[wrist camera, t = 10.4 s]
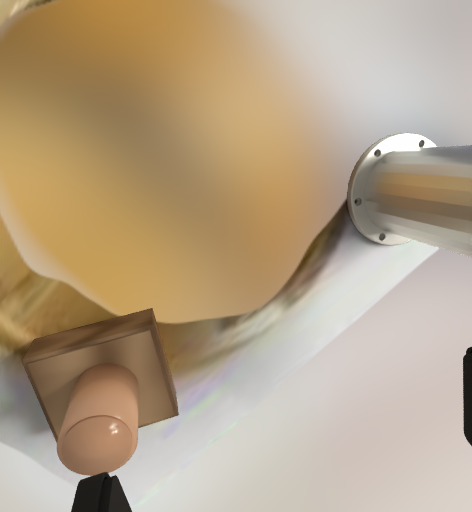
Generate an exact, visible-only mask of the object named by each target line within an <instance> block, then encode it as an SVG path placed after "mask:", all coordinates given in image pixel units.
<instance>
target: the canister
mask: <svg viewBox="0 0 472 512" xmlns="http://www.w3.org/2000/svg"><path fill="white" fill-rule="evenodd" d="M138 400H139V385H138V381H137V378H136V377H135V375H134V374H133V373H132V372H131V371H130V370H129V369H128V368H126V367H124V366H122V365H118V364H113V363H105V364H99V365H96V366H93V367H91V368H89V369H88V370H86V371H85V372H84V373H83V374H82V375H81V376H80V377H79V378H78V380H77V382H76V384H75V387H74V390H73V393H72V396H71V400H70V403H69V406H68V409H67V412H66V415H65V419H64V422H63V425H62V428H61V431H60V434H59V438H58V441H57V453H58V456H59V458H60V460H61V462H62V463H63V464H64V465H65V466H66V467H67V468H68V469H70V470H71V471H73V472H76V473H78V474H82V475H90V476H94V475H97V474H100V473H103V472H107V473H109V472H112V471H114V470H116V469H118V468H120V467H121V466H123V465H124V464H125V463H126V462H127V461H128V460H129V459H130V458H131V456H132V455H133V453H134V451H135V449H136V446H137V440H138Z"/></svg>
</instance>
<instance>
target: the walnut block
mask: <svg viewBox="0 0 472 512" xmlns="http://www.w3.org/2000/svg"><path fill="white" fill-rule="evenodd" d="M22 363H23V365H24V367H25V370H26V372H27V374H28V377H29V379H30V381H31V384H32V386H33V388H34V391H35V393H36V395H37V398H38V400H39V402H40V405H41V407H42V409H43V412H44V414H45V416H46V419H47V421H48V423H49V426H50V428H51V430H52V433H53V435H54V437H55V440H56V442H57V441H58V438H59V434H60V431H61V428H62V425H63V422H64V419H65V415H66V412H67V409H68V406H69V403H70V400H71V396H72V393H73V390H74V387H75V384H76V382H77V380H78V378H79V377H80V376H81V375H82V374H83V373H84V372H85V371H86V370H88V369H89V368H91V367H93V366H96V365H99V364H105V363H113V364H118V365H122V366H124V367H126V368H128V369H129V370H130V371H131V372H132V373H133V374H134V375H135V377H136V378H137V381H138V385H139V400H138V428H140V427H143V426H146V425H150V424H153V423H156V422H159V421H162V420H165V419H168V418H171V417H174V416H178V415H179V414H178V406H177V398H176V391H175V387H174V384H173V380H172V376H171V373H170V369H169V366H168V362H167V359H166V355H165V352H164V348H163V344H162V341H161V337H160V334H159V330H158V327H157V323H156V320H155V316H154V313H153V309H152V308H151V309H147V310H143V311H140V312H136V313H132V314H128V315H124V316H121V317H117V318H113V319H109V320H105V321H102V322H98V323H94V324H90V325H87V326H83V327H79V328H75V329H71V330H68V331H64V332H60V333H56V334H53V335H49V336H45V337H41V338H37V339H35V340H34V341H33V343H32V344H31V346H30V347H29V349H28V351H27V352H26V354H25V355H24V357H23V359H22Z"/></svg>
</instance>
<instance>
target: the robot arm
mask: <svg viewBox="0 0 472 512" xmlns="http://www.w3.org/2000/svg"><path fill="white" fill-rule="evenodd" d="M347 204H348V209H349V214H350V217H351V219H352V221H353V223H354V225H355V226H356V228H357V229H358V230H359V232H361V233H362V234H363V235H364V236H365V237H366V238H368V239H370V240H372V241H374V242H377V243H380V244H385V245H400V244H403V243H407V242H409V241H411V240H416V241H419V242H422V243H426V244H429V245H432V246H436V247H439V248H442V249H445V250H449V251H452V252H455V253H458V254H462V255H465V256H468V257H472V145H466V146H441V147H436V145H435V144H434V143H433V142H431V141H430V140H429V139H427V138H425V137H423V136H421V135H418V134H412V133H400V134H394V135H389V136H387V137H385V138H382V139H380V140H379V141H377V142H376V143H374V144H373V145H371V146H370V147H369V148H368V149H367V150H366V151H365V152H364V153H363V155H362V156H361V157H360V159H359V160H358V162H357V163H356V165H355V167H354V170H353V171H352V174H351V177H350V180H349V184H348V192H347ZM463 385H464V386H463V393H464V394H463V395H464V396H463V398H464V434H465V437H466V439H467V440H468V442H469V443H470V445H471V446H472V347H470V348H468V349H467V351H466V355H465V356H464V358H463ZM71 512H132V510H131V508H130V506H129V503H128V501H127V498H126V496H125V494H124V491H123V489H122V486H121V484H120V482H119V479H118V477H117V476H116V475H115V476H112V477H110V476H109V474H108V473H107V472H103V473H100V474H97V475H94V476H91V477H88V478H85V479H82V480H80V482H79V483H78V486H77V490H76V494H75V498H74V503H73V506H72V511H71Z"/></svg>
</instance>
